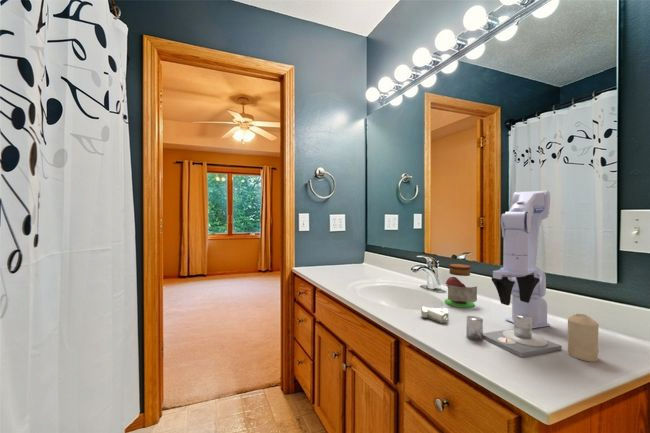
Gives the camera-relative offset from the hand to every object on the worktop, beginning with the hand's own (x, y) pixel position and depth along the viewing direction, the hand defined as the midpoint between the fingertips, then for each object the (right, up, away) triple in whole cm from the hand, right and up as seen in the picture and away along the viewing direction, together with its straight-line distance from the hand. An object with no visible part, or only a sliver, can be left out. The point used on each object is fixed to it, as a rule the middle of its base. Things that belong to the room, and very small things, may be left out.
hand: (515, 303), depth 79 cm
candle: (+10, -10, -10) cm, 17 cm away
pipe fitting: (-17, -10, +14) cm, 24 cm away
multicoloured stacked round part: (-1, -10, +32) cm, 33 cm away
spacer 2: (+1, -8, -2) cm, 9 cm away
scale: (-1, -10, -3) cm, 10 cm away
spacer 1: (-11, -10, 0) cm, 15 cm away
